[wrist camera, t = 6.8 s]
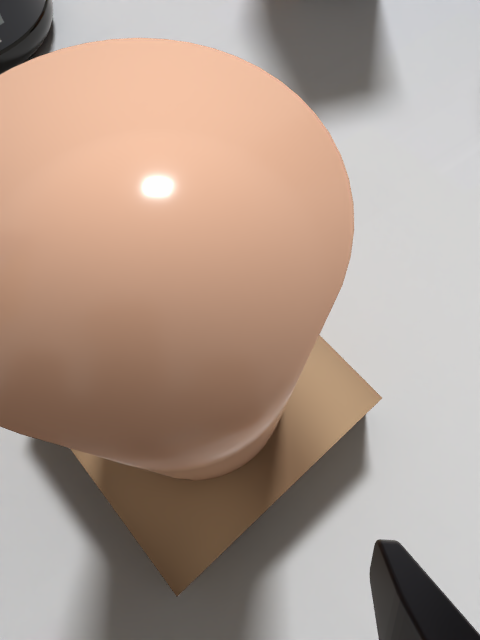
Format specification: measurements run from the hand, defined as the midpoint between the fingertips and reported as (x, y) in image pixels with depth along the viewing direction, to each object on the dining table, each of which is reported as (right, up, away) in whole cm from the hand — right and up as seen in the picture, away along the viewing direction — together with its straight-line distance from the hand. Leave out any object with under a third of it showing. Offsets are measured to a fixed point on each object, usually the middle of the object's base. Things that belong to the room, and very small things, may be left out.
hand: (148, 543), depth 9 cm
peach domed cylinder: (0, +2, +9) cm, 9 cm away
